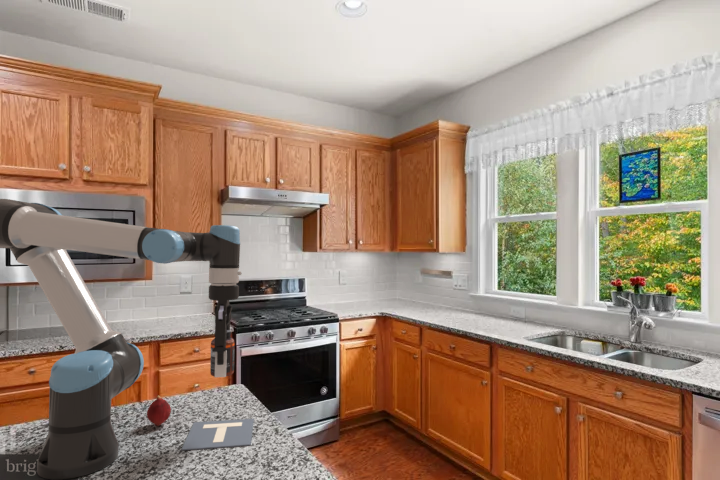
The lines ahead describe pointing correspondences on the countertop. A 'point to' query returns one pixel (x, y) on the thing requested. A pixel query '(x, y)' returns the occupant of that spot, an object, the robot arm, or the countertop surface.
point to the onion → (158, 411)
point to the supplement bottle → (229, 355)
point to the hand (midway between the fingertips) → (221, 372)
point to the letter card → (219, 434)
